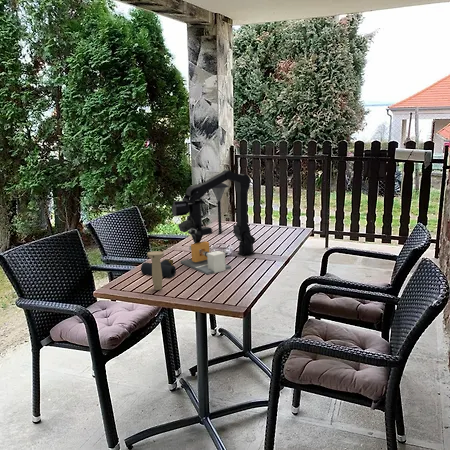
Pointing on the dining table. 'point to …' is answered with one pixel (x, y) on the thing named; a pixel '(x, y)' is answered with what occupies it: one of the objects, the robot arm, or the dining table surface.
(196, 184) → the robot arm
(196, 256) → the collar
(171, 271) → the pipe connector
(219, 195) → the solar garden light
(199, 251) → the pipe
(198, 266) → the mat
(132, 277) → the dining table surface
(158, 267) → the handle
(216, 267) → the block
